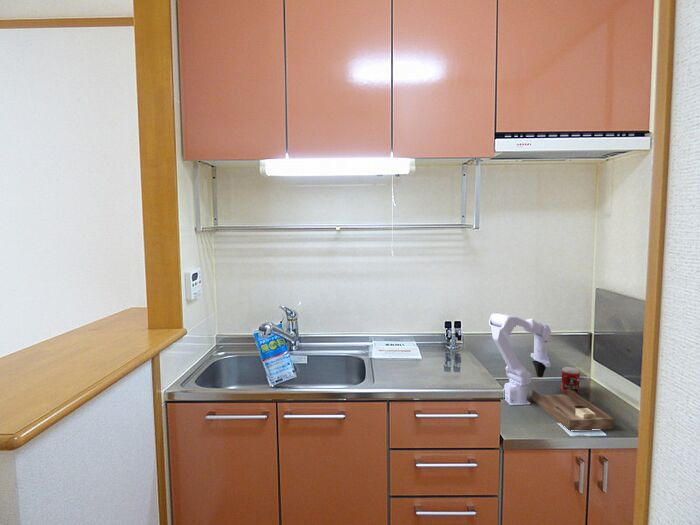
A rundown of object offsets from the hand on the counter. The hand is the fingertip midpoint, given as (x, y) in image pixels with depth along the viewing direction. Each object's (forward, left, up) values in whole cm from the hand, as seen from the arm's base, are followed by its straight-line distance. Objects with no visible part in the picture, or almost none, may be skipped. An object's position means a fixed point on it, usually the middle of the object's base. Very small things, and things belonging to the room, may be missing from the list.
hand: (539, 376), depth 190 cm
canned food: (+17, +3, -10) cm, 20 cm away
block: (+3, -29, -7) cm, 30 cm away
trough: (+3, -18, -9) cm, 20 cm away
